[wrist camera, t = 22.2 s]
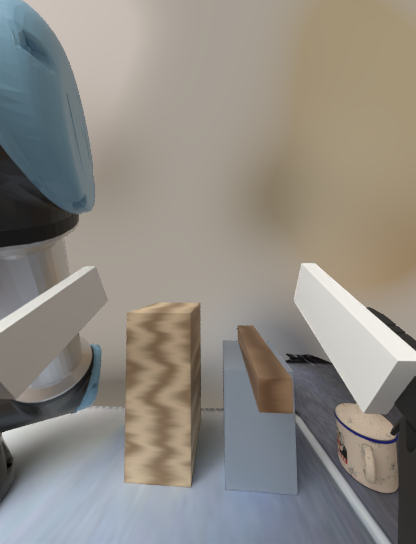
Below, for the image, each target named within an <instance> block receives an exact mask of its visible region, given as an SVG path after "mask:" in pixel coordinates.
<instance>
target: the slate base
mask: <svg viewBox="0 0 416 544" xmlns="http://www.w3.org/2000/svg"><path fill="white" fill-rule="evenodd" d="M265 343H266V344H267V345H268V347H269V348H270V349H271V351H272V352H273V354H274V355H275V356H276V358H277V359H278V360H279V362H280V363H281V364H282V366H283V367H284V368H285V370H286V371H287V373H288V374H289V375H290V377H291V378H292V386H293V414H285V413H261V412H259V411H258V407H257V404H256V400H255V397H254V394H253V390H252V387H251V383H250V380H249V377H248V373H247V370H246V366H245V363H244V360H243V356H242V353H241V349H240V346H239V343H238V341H223V388H224V389H223V392H224V447H225V490H235V491H249V492H263V493H277V494H290V495H298V490H297V461H296V431H295V401H294V372H293V371H292V369H291V368H290V367H289V366H288V364H287V363H286V362H285V361H284V359H283V358H282V357H281V356H280V354H279V353H278V352H277V351H276V350H275V348H274V347H273V346H272V345H271V343H270V342H269V341H265Z"/></svg>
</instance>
